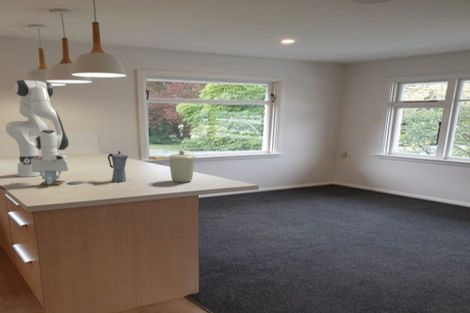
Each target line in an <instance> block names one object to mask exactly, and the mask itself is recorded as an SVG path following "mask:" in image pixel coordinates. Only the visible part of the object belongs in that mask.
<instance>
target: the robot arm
mask: <svg viewBox="0 0 470 313" xmlns="http://www.w3.org/2000/svg"><path fill="white" fill-rule="evenodd" d="M14 91H15V94H16V95H18V96H19V109H18V111H19V113H20V115H22V117H25V118H27V120H14V121H13V120H12V121H9V122H7V124H6V125H5V131H6V132H5V133H6V134H7V135H8V136H9V137H11V138H12V139H14V140H15V142H16V143H17V145H18V148H19V149H18V150H19V157H18V159H19V163H17V173H15V176H16V177H21V178H25V177H27V178H28V177H29V178H30V177H38V176H41V177H42V178H41V180H45V176H44V172H56V173H58V175H57V174H56V177H57V179H61V177H60V175H61V174H62V172H68V171H69V170H70V166H69V161H68V160H67V155H65V154H62V153H59V152H58V151H65V150H66V149H67V148H68V147H69V145H70V144H69V143H70V142H69V139H68V136H67V134H66V132H65V128H64V126H63V124H62V120H61V118H60V115H59V113H58V111H57V110H55V109H54V108H53V107H52V104H51V99H50V98H51V97H52V96H53V94H54V87H53V85H52V84H51V83H50V82H47V81H41V80H29V79H28V80H26V79H25V80H24V79H18V80H16V81H15V84H14ZM41 118H42V119H44V120H45V119H46V120H47V121H50V122H51V123H52V124H53V126H54V128H55V130H52V129H48V125H47V123H46V122H44V121H43V120H42V119H41ZM29 137H35V138H34V139H35V142H34V141H32V140H30V139H29ZM39 151H41V152H40V154H39ZM40 155H41V156H40Z"/></svg>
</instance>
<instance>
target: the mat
mask: <svg viewBox="0 0 470 313" xmlns="http://www.w3.org/2000/svg"><path fill="white" fill-rule="evenodd" d="M66 184H67V185H69V186H70V185H71V186H77V185H83V184H85V181H82V180H81V181H80V180H79V181H78V180H77V181H70V182H67V183H66Z"/></svg>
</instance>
